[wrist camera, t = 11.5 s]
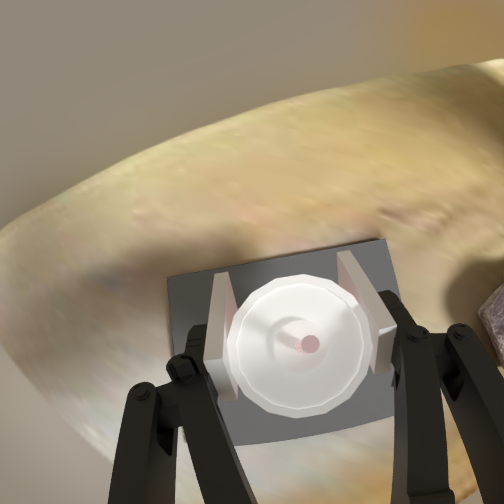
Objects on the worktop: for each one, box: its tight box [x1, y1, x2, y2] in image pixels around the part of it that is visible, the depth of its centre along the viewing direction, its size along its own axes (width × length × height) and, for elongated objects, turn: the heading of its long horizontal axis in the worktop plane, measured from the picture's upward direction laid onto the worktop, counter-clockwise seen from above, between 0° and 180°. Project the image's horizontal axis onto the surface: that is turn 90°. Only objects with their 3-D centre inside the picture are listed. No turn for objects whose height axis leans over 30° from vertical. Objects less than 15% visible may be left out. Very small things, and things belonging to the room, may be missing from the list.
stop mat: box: [167, 239, 401, 446], centre depth 22 cm, size 18×14×1 cm
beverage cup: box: [227, 274, 373, 418], centre depth 14 cm, size 6×6×14 cm
